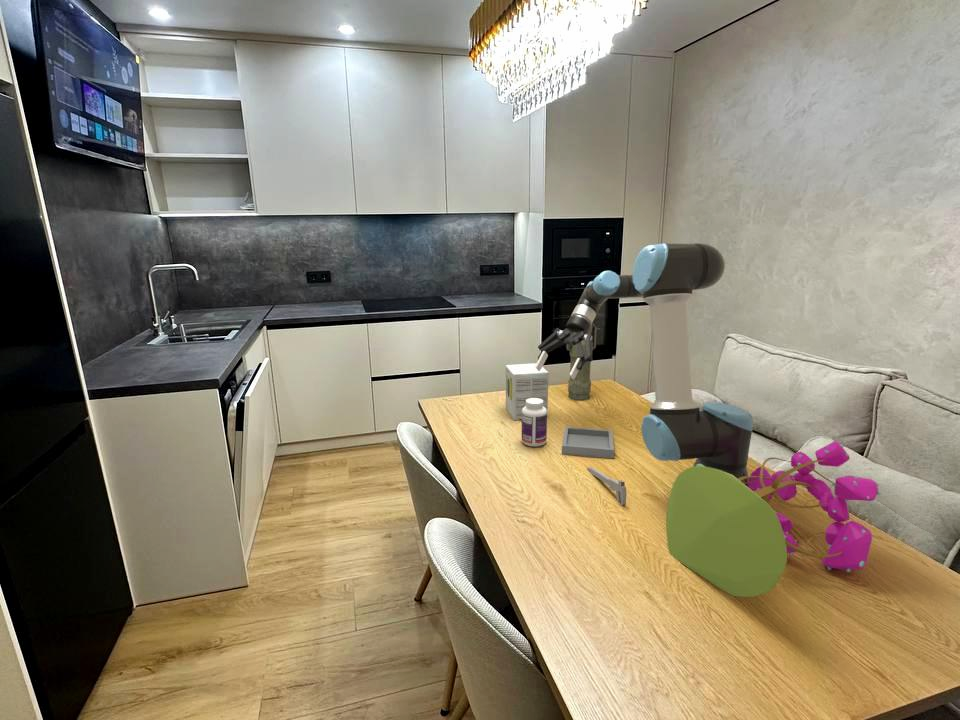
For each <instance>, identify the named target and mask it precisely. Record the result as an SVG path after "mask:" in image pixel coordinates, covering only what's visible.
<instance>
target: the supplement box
mask: <svg viewBox="0 0 960 720" xmlns="http://www.w3.org/2000/svg"><path fill="white" fill-rule="evenodd" d="M536 364H537V362H536V363H535V362H534V363H533V362H532V363H517V364H515V363H514V364H506V365H505V409H506V411H507V410H508V411H507V412H508V414H509V413H510V414H509V415H510V417H511V419H512V420H513V421H520V420H519V419H522V409H523V408H524V407H525V406H526V400H527V399H529V398H539V399H542V400H543V407H545V408H546V410H547V412H548V408H549V407H548V406H549V405H548V402H549V374H550V373H549V371H547V369H545V367H544V366H542V368H541V370H540V371H538V370H537V369H536V367H535V366H536Z"/></svg>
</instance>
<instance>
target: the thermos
mask: <svg viewBox="0 0 960 720" xmlns="http://www.w3.org/2000/svg"><path fill="white" fill-rule="evenodd" d="M597 331H598V328H597V326H596V324H594V323H592V324H591V325H590V328H589V330H588V332H587V334H588V333H590V334H591V335H592V337H593V341H592V352H593V351H594V350H595V349H596V348H597ZM587 334H586V335H587ZM581 345H582V348H583V351H584V354H585V356H586V340H585V339H584V340H582V341H581ZM566 350H567V351H568V352H569V356H570V366H569V367H570V368H569V369H570V370H569V373H570V372H571V370H572V368H573V366H574V364H575V362H576V360H577V358H580V355H579V352H578V349H577V346H576V345H574V346H573V345H571V344H570V345H568V344H566ZM580 359H581V358H580ZM591 362H592V361H591ZM591 362H589V361H587V362H585V363H584V366H583V367H582V369H581V370H579V371H578V373H577V375H576V377H575V379H572V378H571V376H570V375H569V378H568V385H567V391H568V395H567V398H568V399H570V400H573V401H578V402H579V401H580V402H581V401H582V402H583V401H588V400H590V398H591V395H590V394H591V390H592V389H591V386H592V382H591Z"/></svg>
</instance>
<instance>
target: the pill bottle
mask: <svg viewBox="0 0 960 720" xmlns="http://www.w3.org/2000/svg"><path fill="white" fill-rule="evenodd" d="M547 429H548V411H547V410H546V408H545V407H543V400H542V399H539V398H529V399H527V400H526V406H525V407H524V408H523V409H522V420H521V443H523V444H524V445H525V446H528V447H532V448H533V447H541V446H544V445H545V444H546V443H547V438H548V437H547V434H548V433H547V432H548V430H547Z"/></svg>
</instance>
